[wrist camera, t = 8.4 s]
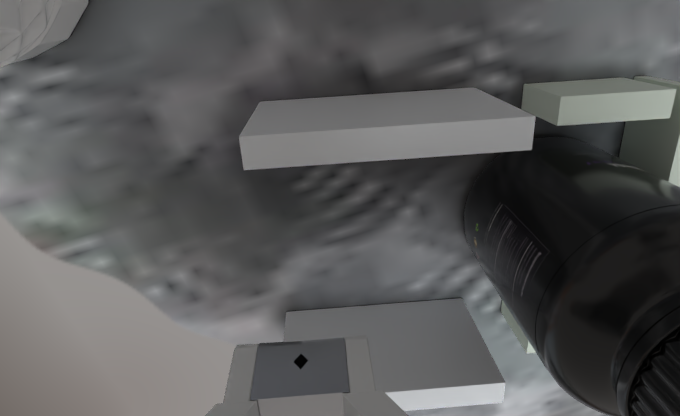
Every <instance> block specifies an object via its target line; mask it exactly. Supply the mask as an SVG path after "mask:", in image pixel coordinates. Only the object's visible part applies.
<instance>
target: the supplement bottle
mask: <svg viewBox="0 0 680 416" xmlns="http://www.w3.org/2000/svg"><path fill="white" fill-rule="evenodd" d="M464 230H465V235H466V238H467V241H468V244H469V246H470V248H471V250H472V252H473V254H474V255H475V257H476V259H477V261H478V262H479V264H480V266H481V267H482V269H483V270H484V272H485V273H486V275H487V277H488V278H489V280H490V281H491V283H492V284H493V286H494V287H495V289H496V291H497V292H498V294H499V295H500V297H501V298H502V300H503V302H504V303H505V305H506V306H507V308H508V309H509V311H510V313H511V314H512V316H513V317H514V319H515V320H516V322H517V324H518V325H519V327H520V328H521V330H522V331H523V333H524V334H525V336H526V338H527V339H528V341H529V342H530V344H531V345H532V347H533V349H534V350H535V352H536V353H537V355H538V356H539V358H540V359H541V361H542V363H543V364H544V366H545V367H546V368H547V370H548V371H549V373H550V374H551V375H552V377H553V378H554V379H555V381H556V382H557V383H558V384H559V386H560V387H561V388H562V389H563V390H564V391H566V392H567V393H568V394H569V395H570V396H572V397H573V398H574V399H576V400H577V401H579V402H581V403H582V404H584V405H586V406H588V407H590V408H592V409H594V410H596V411H598V412H601V413H603V414H606V415H609V416H680V187H678V186H676V185H674V184H672V183H670V182H668V181H666V180H664V179H662V178H659V177H657V176H655V175H653V174H651V173H649V172H647V171H645V170H643V169H641V168H639V167H636V166H634V165H632V164H630V163H628V162H626V161H624V160H622V159H620V158H618V157H616V156H614V155H611V154H609V153H607V152H605V151H603V150H601V149H599V148H596V147H594V146H592V145H590V144H587V143H585V142H582V141H579V140H576V139H572V138H567V137H542V138H536V139H533V144H532V150H524V151H510V152H503V153H502V154H500V155H499V156H498V157H496V158H495V159H494V160H493V161H492V162H491V163H490V164H489V165H488V166H486V168H485V169H484V170H483V171H482V172H481V174H480V175H479V176H478V178H477V179H476V181H475V182H474V184H473V186H472V188H471V190H470V192H469V195H468V198H467V201H466V205H465V210H464Z"/></svg>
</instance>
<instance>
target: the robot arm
mask: <svg viewBox="0 0 680 416" xmlns="http://www.w3.org/2000/svg"><path fill="white" fill-rule="evenodd" d="M205 416H408V415H407V414H406V413H405V412H404V411H403V410H402V409H401V408H400V407H399V406H398V405H397V404H396V403H395V402H394V401H393V400H392V399H391V398H390V397H389V396H388V395H387V394H386V393H385V392H384V391H376V387H375V381H374V374H373V368H372V362H371V356H370V349H369V343H368V338H367V336H366V335H361V336H350V337H345V340H344V337H342V338H330V339H319V340H307V341H294V342H275V343H259V344H246V345H237V346H236V348H235V350H234V353H233V358H232V363H231V368H230V372H229V378H228V382H227V387H226V391H225V396H224V401H223V403H221V404H216V405H215V406H214V407H213V408H212V409H211V410H210V411H209V412H208V413H207V414H206V415H205Z"/></svg>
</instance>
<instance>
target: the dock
mask: <svg viewBox="0 0 680 416" xmlns="http://www.w3.org/2000/svg"><path fill="white" fill-rule="evenodd" d="M521 109H522V110H524V111H526V112H528V113H531V114H533V115H535V116H537V117H539V118H541V119H543V120H545V121H548V122H550V123H552V124H554V125H556V126H564V125H579V124H593V123H608V122H622V121H626V123H625V128H624V133H623V138H622V143H621V149H620V154H619V158H620V159H622V160H624V161H626V162H628V163H630V164H632V165H634V166H636V167H639V168H641V169H643V170H645V171H647V172H649V173H651V174H653V175H655V176H657V177H659V178H662V179H664V180H666V181H668V182H670V183H672V184H674V185H676V186H678V187H680V82H676V81H671V80H666V79H661V78H656V77H650V76H636V77H634V80H632V79H627V78H623V77H621V78H606V79H591V80H576V81H561V82H546V83H531V84H524V86H523V96H522V106H521ZM501 313H502V315H503V316H504V318H505V319H506V321H507V323H508V324H509V326H510V327H511V329H512V331H513V332H514V334H515V335H516V337H517V339H518V340H519V342H520V344H521V345H522V347H523V348H524V350H525V352H526V353H536V352H535V350H534V349H533V347H532V345H531V344H530V342H529V341H528V339H527V338H526V336H525V334H524V333H523V331H522V330H521V328H520V327H519V325H518V324H517V322H516V320H515V319H514V317H513V316H512V314H511V313H510V311H509V309H508V308H507V306H506V305H505V303H504V302H503V300H502V305H501Z"/></svg>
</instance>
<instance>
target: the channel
mask: <svg viewBox="0 0 680 416" xmlns="http://www.w3.org/2000/svg"><path fill="white" fill-rule="evenodd" d="M535 118H536V116H534V115H532V114H530V113H528V112H525V111H523V110H521V109H519V108H517V107H515V106H513V105H511V104H508V103H506V102H504V101H502V100H500V99H498V98H496V97H494V96H491V95H489V94H487V93H485V92H483V91H481V90H479V89H477V88H475V87H471V88H456V89H441V90H426V91H411V92H396V93H381V94H366V95H351V96H336V97H321V98H306V99H291V100H276V101H261V102H259V104H258V106H257V107H256V109H255V111H254V112H253V114H252V116H251V117H250V119H249V120H248V122H247V124H246V125H245V127H244V129H243V130H242V132H241V134H240V135H239V142H240V149H241V155H242V162H243V169H244V170H255V169H269V168H283V167H297V166H312V165H326V164H340V163H354V162H368V161H382V160H397V159H411V158H425V157H439V156H453V155H468V154H482V153H496V152H510V151H524V150H532V144H533V135H534V126H535ZM361 335H366V336H367V338H368V343H369V349H370V356H371V362H372V368H373V374H374V381H375V387H376V391H384V392H385V393H386V394H387V395H388V396H389V397H390V398H391V399H392V400H393V401H394V402H395V403H396V404H397V405H398V406H399V407H400V408H401V409H402V410H403V411H410V410H422V409H434V408H446V407H458V406H469V405H481V404H493V403H503V399H504V390H505V381H504V379H503V377H502V375H501V373H500V371H499V369H498V367H497V365H496V364H495V362H494V360H493V358H492V356H491V354H490V352H489V350H488V348H487V346H486V344H485V342H484V340H483V338H482V336H481V334H480V333H479V331H478V329H477V327H476V325H475V323H474V321H473V319H472V317H471V315H470V313H469V311H468V309H467V307H466V305H465V303H464V302H463V300H462V298H456V299H444V300H431V301H418V302H405V303H393V304H380V305H367V306H354V307H342V308H329V309H316V310H303V311H291V312H286V320H285V331H284V341H283V342H294V341H307V340H319V339H330V338H342V337H344V340H345V337H350V336H361Z"/></svg>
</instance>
